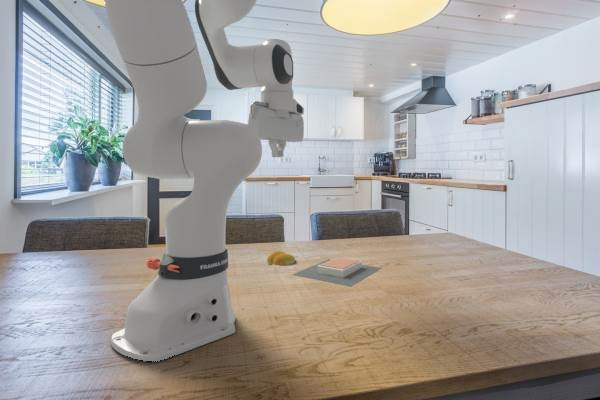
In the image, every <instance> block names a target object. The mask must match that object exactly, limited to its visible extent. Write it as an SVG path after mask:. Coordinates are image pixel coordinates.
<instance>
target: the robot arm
mask: <svg viewBox="0 0 600 400" xmlns="http://www.w3.org/2000/svg"><path fill="white" fill-rule="evenodd" d="M103 2H104V7H105V10H106V14H107V19H108V22H109V25H110V29H111V32H112V35H113V39H114V40H115V44H116V46H117V49H118V52H119V55H120V57H121V59H122V62H123V64H124V67H125V68H126V71H127V74H128V76H129V79H130V82H131V85H132V88H133V90H134V94H135V96H136V101H137V104H138V113H137V114H138V116H137V119H136V121H135V123H134V124H132V126H131V127H130V128H128V131H127V132H126V134H125V135H124V138H123V141H122V156H123V159H124V161H125V163H126V165H127V167H128V168H129V169H130V171H132V172H133V173H134V175H135V174H136V175H138V176H143V177H148V178H151V179H152V178H153V179H157V180H193V188H192V190H191V193H190V194H189V195H188V196H186V197H183V198H182V199H180V200H178V201H176V202H175V203H172V205H171V206H170V207H169V208H168V210H167V211H166V214H165V217H164V230H165V232H164V233H165V252H164V254H163V257H162V259H160V258H155V257H149V258H148V259H147V260H146V262H145V265H146V267H147V269H150V270H154V271H156V270H157V274H158V275H157V276H156V277H155V278H154V279H153V280H152V281H151V282H150V283H149V284H148V285H147V286H146V287H145V288H144V289H143V291H141V292H140V293H139V294H138V296H136V297H135V298H134V299H133V300H132V301H131V302H130V303H129V305H128V307H127V311H126V315H125V322H124V328H122V329H120V330H118V331H116V332H114V333H113V334H112V335H111V338H110V344H111V347H112V348H113V349H114V350H115V351H116V352H117V353H119V354H121V355H123V356H124V357H127V356H128V357H127V358H129V357H131V358H130V359H132V358H133V359H132V360H135V359H138V360H137V361H139V360H143V361H142V362H146V361H152V363H158V362H161V361H160V360H162V361H164V359H165V360H167V359H170V358H172V356H173V357H175V356H177V355H180V354H182V353H186V352H188V351H190V350H194V349H197V348H199V347H201V346H204V345H208V344H209V343H211V342H215V341H217V340H220V339H223V338H225V337H228V336H230V335H233V334H235V332H236V328H235V321H236V319H237V318H236V315H235V311H234V309H233V305H232V301H231V300H232V299H231V295H230V294H231V293H230V289H229V283H228V272H227V269H228V268H229V252H228V248H226V227H227V226H226V225H227V224H226V223H227V213H228V208H229V205H230V201H231V199H232V197H233V196H234V193H235V192H236V191H237V189H238V187H239V186H240V185H241V183H242V182H244V181H245V180H246V179H247V178H248V177H250V176H251V175H252V174H253V173H254V172H256V170H257V168H258V166H259V165H260V163H261V159H262V155H263V146H262V145H263V144H262V142H261V140H267V141H268V145H269V148H270V150H271V157H272V158H283V157H284V151H285V148H286V147H287V142H289V143H299V142H302V141H303V139H304V136H305V135H304V133H305V124H304V123H305V122H304V117H303V115H304V114H305V108H304V106H303V105H302V104H300V103H299V102H298V101H297V100H296V99H295V98H294V90H293V81H294V61H293V55H292V54H293V53H292V49H291V46H290V44H289V43H288V42H287V41H286V40H282V39H278V38H271V39H268V40H266V41H264V42H263V44H256V45H255V44H254V45H253V44H252V45H244V46H243V45H242V46H236V45H232V44H229V41H228V38H227V34H226V32H225V28H226V27H229V26H230V25H232V24H235V23H237V22H239V21H241V20H243V19H244V18H245V17H246V16H247V15H248V14H250V12H251V11H252V10H253V8H254V6H255V5H256V4H257V3H256V2H257V0H194V14H195V20H196V22H197V26H198V28H199V31H200V34H201V36H202V38H203V41H204V44H205V47H206V48H207V51H208V53H209V56H210V59H211V61H212V65H213V69H214V73H215V76H216V80H217V81H218V82H219V83H220V84H221V85H222V86H223V87H224V88H225V89H227V90H229V91H232V90H233V91H234V90H240V89H245V88H261V90H260V100H254V101H253V102H252V103H251V104H250V107H249V113H248V122H247V123H243V122H241V121H239V122H238V121H234V120H233V121H232V120H227V119H205V120H204V119H203V120H202V119H201V120H192V119H189V118H187V117H186V116H185V115H187V114H188V113H190V112H192V111H193V110H195V109H196V108H197V107H198V106H199V105H200V104H201V103H202V102H203V100H204V98H205V96H206V93H207V88H208V87H207V78H206V75H205V72H204V67H203V64H202V59H201V56H200V52H199V47H198V43H197V41H196V37H195V32H194V30H193V27H192V23H191V20H190V18H189V14H188V12H187V10H186V7H185V4H184V2H183V0H103ZM174 355H175V356H174ZM169 357H170V358H169ZM153 361H154V362H153ZM155 361H156V362H155ZM157 361H158V362H157Z"/></svg>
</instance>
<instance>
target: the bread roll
mask: <svg viewBox="0 0 600 400" xmlns="http://www.w3.org/2000/svg"><path fill="white" fill-rule="evenodd" d="M266 262H267V263H268V265H270V266H273V265H275V266H289V265H293V264H294V263H295V262H296V258H295V256H294V255H293V254H290V253H286V252H285V251H281V250H277V251H273V252H271V253H270V254H269V255H268V257H267V258H266Z"/></svg>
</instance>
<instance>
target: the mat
mask: <svg viewBox="0 0 600 400" xmlns="http://www.w3.org/2000/svg"><path fill="white" fill-rule="evenodd" d="M330 260H331V259H330V258H329V259H326V260H323V261H321V262H319V263H317V264H314V265H312V266H309V267H307V268H305V269H302V270H300V271H297V272H295V273H293V274H291V275H292V276H297V277H301V278H307V279H312V280H316V281H321V282H326V283H327V282H328V283H330V284H331V283H332V284H335V285H342V286H345V287H353V286H354V285H356V284H357V283H359V282H361V281H363V280H364V279H366V278H368V277H369V276H372V275H373V274H374V273H377V272H379V270H382V267H378V266H372V265H365V264H362V268H360V269H358V270H357V271H355V272H353V273H351V274H349V275H347V276H345V277H343V278H341V277H336V276H331V275H326V274H320V273H317V266H318V265H321V264H323V263H326V262H328V261H330Z"/></svg>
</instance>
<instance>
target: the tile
mask: <svg viewBox="0 0 600 400" xmlns="http://www.w3.org/2000/svg"><path fill="white" fill-rule="evenodd" d="M329 260H330V261H328V262H326V263H323V264H321V265H318V266H317V273H320V274H326V275H331V276H336V277H341V278H343V277H345V276H347V275H349V274H351V273H353V272H355V271H357V270H358V269H360V268H362V265H363V261H362V260H359V259H358V260H357V259H352V258H346V257H339V256H338V257H336V258H333V259H329Z"/></svg>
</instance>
